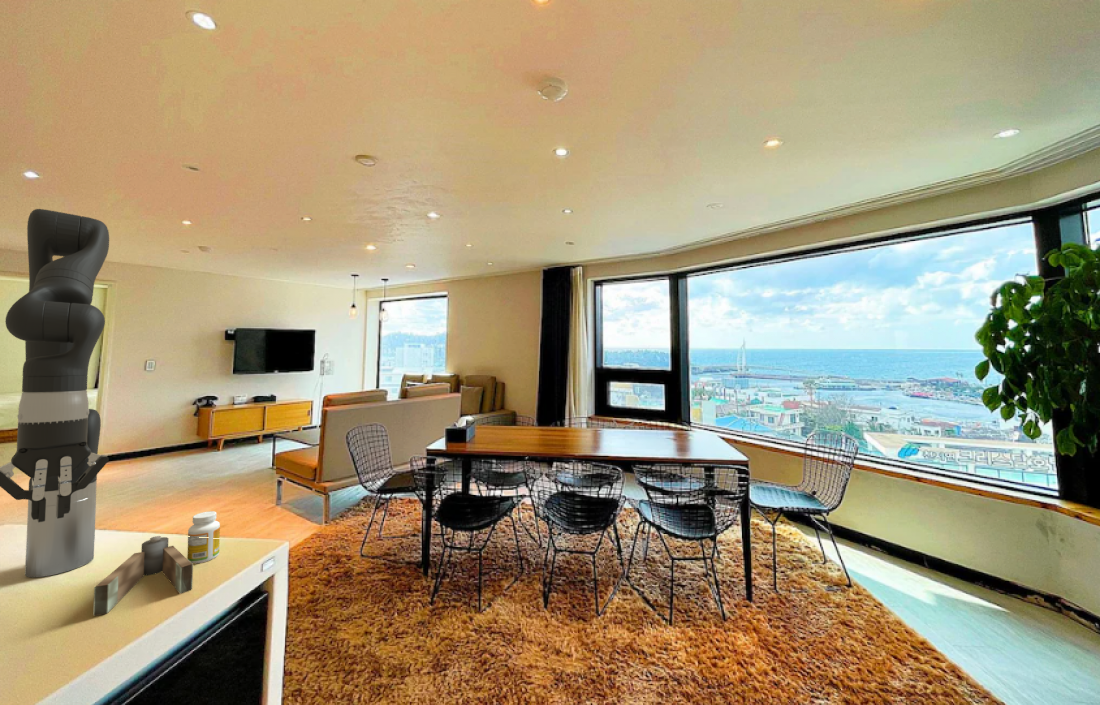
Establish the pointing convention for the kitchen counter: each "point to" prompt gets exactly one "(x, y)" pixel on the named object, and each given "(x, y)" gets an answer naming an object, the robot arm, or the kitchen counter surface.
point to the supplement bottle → (203, 547)
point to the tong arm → (118, 584)
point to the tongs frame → (167, 563)
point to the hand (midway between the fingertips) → (50, 518)
